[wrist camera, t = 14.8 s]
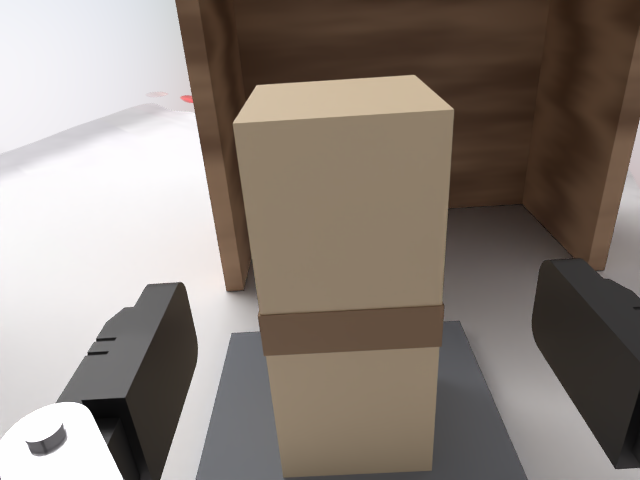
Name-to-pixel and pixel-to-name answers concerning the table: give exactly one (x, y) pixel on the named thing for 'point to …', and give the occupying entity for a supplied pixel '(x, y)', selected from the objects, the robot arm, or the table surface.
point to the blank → (349, 266)
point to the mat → (446, 476)
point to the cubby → (448, 83)
